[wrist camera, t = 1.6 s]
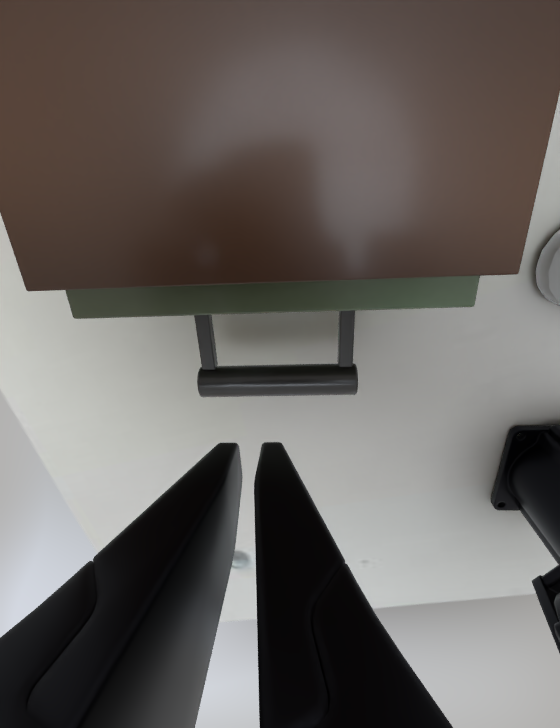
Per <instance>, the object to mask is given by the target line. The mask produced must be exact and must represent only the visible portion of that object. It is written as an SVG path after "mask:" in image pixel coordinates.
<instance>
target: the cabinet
mask: <svg viewBox="0 0 560 728" xmlns="http://www.w3.org/2000/svg"><path fill="white" fill-rule="evenodd" d="M559 92H560V0H0V213H1V216H2V219H3V222H4V225H5V227H6V230H7V233H8V236H9V239H10V242H11V245H12V248H13V251H14V254H15V257H16V260H17V263H18V266H19V269H20V272H21V275H22V278H23V281H24V284H25V287H26V290H27V291H49V290H78V289H107V288H135V287H164V286H193V285H222V284H250V283H279V282H308V281H337V280H365V279H394V278H423V277H452V276H480V275H509V274H518V273H519V268H520V264H521V260H522V255H523V251H524V246H525V242H526V237H527V233H528V229H529V224H530V220H531V215H532V211H533V207H534V202H535V198H536V193H537V189H538V185H539V180H540V176H541V171H542V167H543V162H544V158H545V154H546V149H547V145H548V140H549V136H550V132H551V127H552V123H553V118H554V114H555V110H556V105H557V101H558V96H559Z"/></svg>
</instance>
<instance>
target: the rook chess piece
mask: <svg viewBox="0 0 560 728" xmlns="http://www.w3.org/2000/svg"><path fill="white" fill-rule="evenodd" d="M536 278H537V286H538V288H539V289H540V291H541V292H542V294H543V296H544V297H545V298H546V299H548V300H549V301H551V302H553V303H555V304H557V305H560V230H559V231H558V232H556V233H555V234H554V235H553V237H552V238H551V239H550V241H549V242H548V243H547V245H546V246H545V247H544V249H543V250H542V252H541V255H540V258H539V261H538V264H537V267H536Z"/></svg>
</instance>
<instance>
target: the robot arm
mask: <svg viewBox="0 0 560 728" xmlns="http://www.w3.org/2000/svg"><path fill="white" fill-rule="evenodd" d="M520 433H521V434H520ZM518 434H520V435H519V436H517V435H518ZM241 488H242V468H241V459H240V450H239V446H238V444H237V443H219V444H218V445H216V446H215V447H214V448H213V449H212V450H211V451H210V452H209V453H208V454H206V455H205V456H204V457H203V458H202V459H201V460H200V461H199V462H198V463H197V464H196V465H194V466H193V467H192V468H191V469H190V470H189V471H188V472H187V473H186V474H185V475H183V476H182V477H181V478H180V479H179V480H178V481H177V482H176V483H175V484H174V485H172V486H171V487H170V488H169V489H168V490H167V491H166V492H165V493H164V494H163V495H162V496H160V497H159V498H158V499H157V500H156V501H155V502H154V503H153V504H152V505H151V506H149V507H148V508H147V509H146V510H145V511H144V512H143V513H142V514H141V515H140V516H139V517H137V518H136V519H135V520H134V521H133V522H132V523H131V524H130V525H129V526H128V527H126V528H125V529H124V530H123V531H122V532H121V533H120V534H119V535H118V536H117V537H115V538H114V539H113V540H112V541H111V542H110V543H109V544H108V545H107V546H106V547H105V548H103V549H102V550H101V551H100V552H99V553H98V554H97V555H96V556H95V557H94V559H93V562H92V561H89V562H88V563H87V564H86V565H85V566H83V567H82V568H81V569H80V570H79V571H78V572H77V573H76V574H75V575H74V576H72V577H71V578H70V579H69V580H68V581H67V582H66V583H65V584H63V585H62V586H61V587H60V588H59V589H58V590H57V591H56V592H54V593H53V594H52V595H51V596H50V597H49V598H48V599H46V600H45V601H44V602H43V603H42V604H41V605H40V606H38V608H36V609H35V610H34V611H33V612H31V613H30V614H29V615H28V616H26V617H25V618H24V619H23V620H21V621H20V622H19V623H18V624H17V625H15V626H14V627H13V628H12V629H10V630H9V631H8V632H7V633H6V634H5V635H3V636H2V637H1V638H0V728H195V724H196V720H197V715H198V710H199V706H200V702H201V697H202V693H203V689H204V684H205V680H206V675H207V671H208V667H209V662H210V658H211V654H212V649H213V645H214V640H215V636H216V632H217V627H218V623H219V618H220V614H221V610H222V605H223V601H224V596H225V592H226V588H227V583H228V579H229V574H230V570H231V566H232V561H233V556H234V550H235V543H236V534H237V525H238V516H239V507H240V497H241ZM254 499H255V542H256V585H257V625H258V626H257V627H258V667H259V668H258V670H259V713H260V728H453V727H452V726H451V724H450V723H449V721H448V720H447V718H446V717H445V716H444V714H443V713H442V711H441V710H440V708H439V707H438V706H437V704H436V703H435V701H434V700H433V698H432V697H431V695H430V694H429V692H428V691H427V690H426V688H425V687H424V685H423V684H422V683H421V681H420V680H419V678H418V677H417V676H416V674H415V672H414V671H413V670H412V668H411V667H410V665H409V664H408V663H407V661H406V660H405V658H404V657H403V655H402V654H401V652H400V651H399V649H398V648H397V646H396V645H395V643H394V642H393V640H392V639H391V637H390V636H389V634H388V633H387V631H386V630H385V628H384V627H383V625H382V624H381V622H380V621H379V619H378V618H377V616H376V614H375V613H374V611H373V609H372V607H371V606H370V604H369V602H368V601H367V599H366V597H365V595H364V594H363V592H362V590H361V589H360V587H359V585H358V583H357V581H356V580H355V578H354V576H353V574H352V572H351V570H350V569H349V567H348V565H347V564H345V560H344V558H343V556H342V554H341V552H340V550H339V549H338V547H337V545H336V543H335V541H334V539H333V537H332V536H331V534H330V532H329V530H328V528H327V526H326V524H325V523H324V521H323V519H322V517H321V515H320V513H319V511H318V510H317V508H316V506H315V504H314V502H313V500H312V498H311V497H310V495H309V493H308V491H307V489H306V487H305V485H304V484H303V482H302V480H301V478H300V476H299V474H298V472H297V471H296V469H295V467H294V465H293V463H292V461H291V459H290V458H289V456H288V454H287V452H286V450H285V448H284V446H283V445H282V443H280V442H266V443H263V444H262V447H261V452H260V457H259V461H258V466H257V471H256V475H255V482H254ZM491 503H492V505H493V506H494V508H495V509H497V510H520V511H521V512H522V514H523V515H524V517H525V518H526V519H527V521H528V522H529V524H530V525H531V526H532V528H533V529H534V531H535V532H536V533H537V535H538V536H539V538H540V539H541V540H542V542H543V543H544V545H545V546H546V547H547V549H548V550H549V552H550V553H551V554H552V556H553V557H554V559H555V560H556V561H557V563H558V564H559V565H558V566H556V567H555V568H554V569H552V570H551V571H549V572H548V573H546V574H545V575H543V576H541V575H540V576H538V577H537V578H535V579H534V580H532V583H533V586H534V588H535V591H536V594H537V596H538V599H539V602H540V605H541V607H542V610H543V612H544V615H545V617H546V620H547V622H548V625H549V627H550V630H551V632H552V635H553V637H554V640H555V642H556V645H557V648H558V650H559V653H560V425H553V426H516V427H514V428H512V429H511V430H510V431H509V434H508V438H507V441H506V445H505V449H504V453H503V457H502V460H501V464H500V468H499V472H498V476H497V479H496V483H495V487H494V491H493V495H492V498H491Z"/></svg>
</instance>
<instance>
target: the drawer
mask: <svg viewBox="0 0 560 728" xmlns="http://www.w3.org/2000/svg"><path fill="white" fill-rule="evenodd" d="M479 278H480V276H452V277H423V278H394V279H365V280H337V281H308V282H279V283H250V284H222V285H193V286H164V287H135V288H107V289H78V290H66V294H67V297H68V301H69V304H70V308H71V311H72V314H73V317H74V318H76V319H85V318H119V317H152V316H186V315H194V316H195V323H196V330H197V336H198V343H199V350H200V357H201V364H202V367H201V368H200V369H199V372H198V379H197V383H198V391H199V394H200V396H201V397H240V396H302V395H355V394H356V393H357V389H358V373H357V367H356V364H354V363H353V344H354V321H355V310H387V309H420V308H453V307H473V306H474V305H475V299H476V294H477V289H478V283H479ZM320 311H339V322H338V364H296V365H250V366H217V364H218V363H217V355H216V347H215V339H214V331H213V324H212V316H211V315H219V314H253V313H286V312H320Z"/></svg>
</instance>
